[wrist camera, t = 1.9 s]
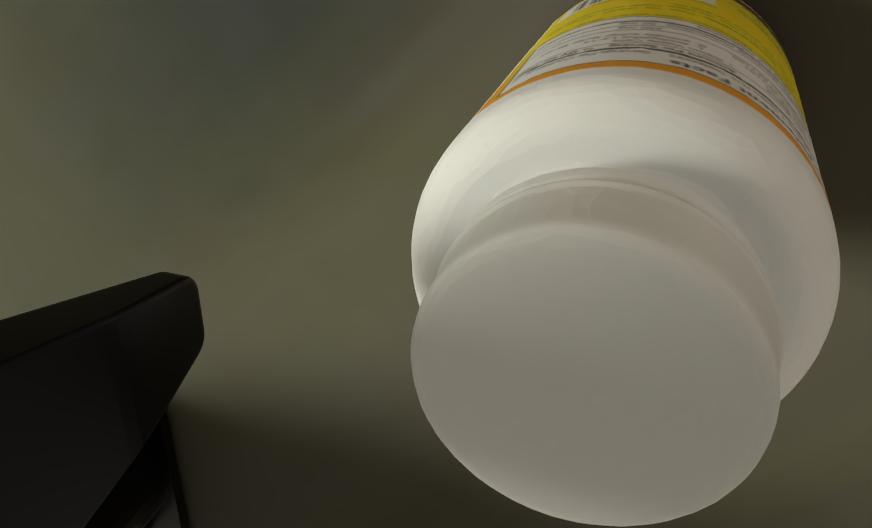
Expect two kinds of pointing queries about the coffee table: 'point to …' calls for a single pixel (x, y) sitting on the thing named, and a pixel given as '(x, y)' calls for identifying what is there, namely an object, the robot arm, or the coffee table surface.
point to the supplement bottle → (625, 264)
